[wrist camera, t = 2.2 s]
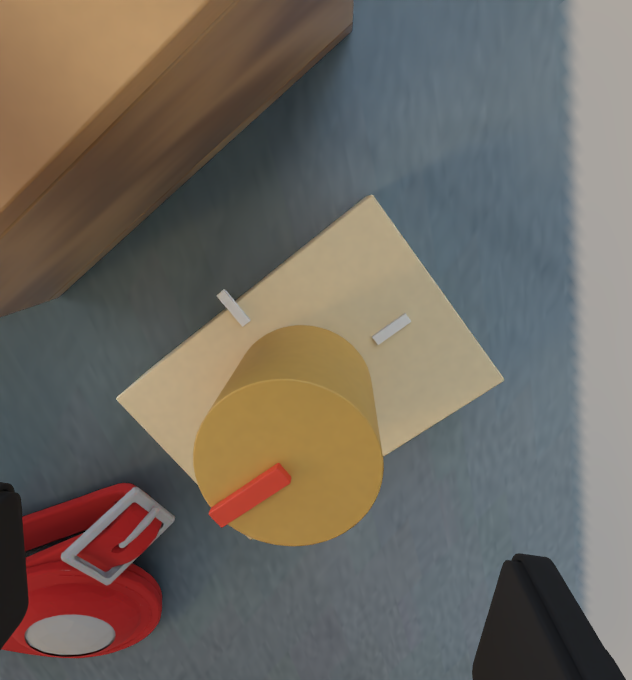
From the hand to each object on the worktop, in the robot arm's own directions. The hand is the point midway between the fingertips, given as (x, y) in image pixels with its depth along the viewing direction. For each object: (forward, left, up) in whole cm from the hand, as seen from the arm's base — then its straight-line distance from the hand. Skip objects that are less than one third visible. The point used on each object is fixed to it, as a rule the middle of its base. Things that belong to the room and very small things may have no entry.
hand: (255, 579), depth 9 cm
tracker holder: (+15, +2, -12) cm, 19 cm away
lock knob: (0, 0, -8) cm, 8 cm away
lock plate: (0, 0, -11) cm, 11 cm away
